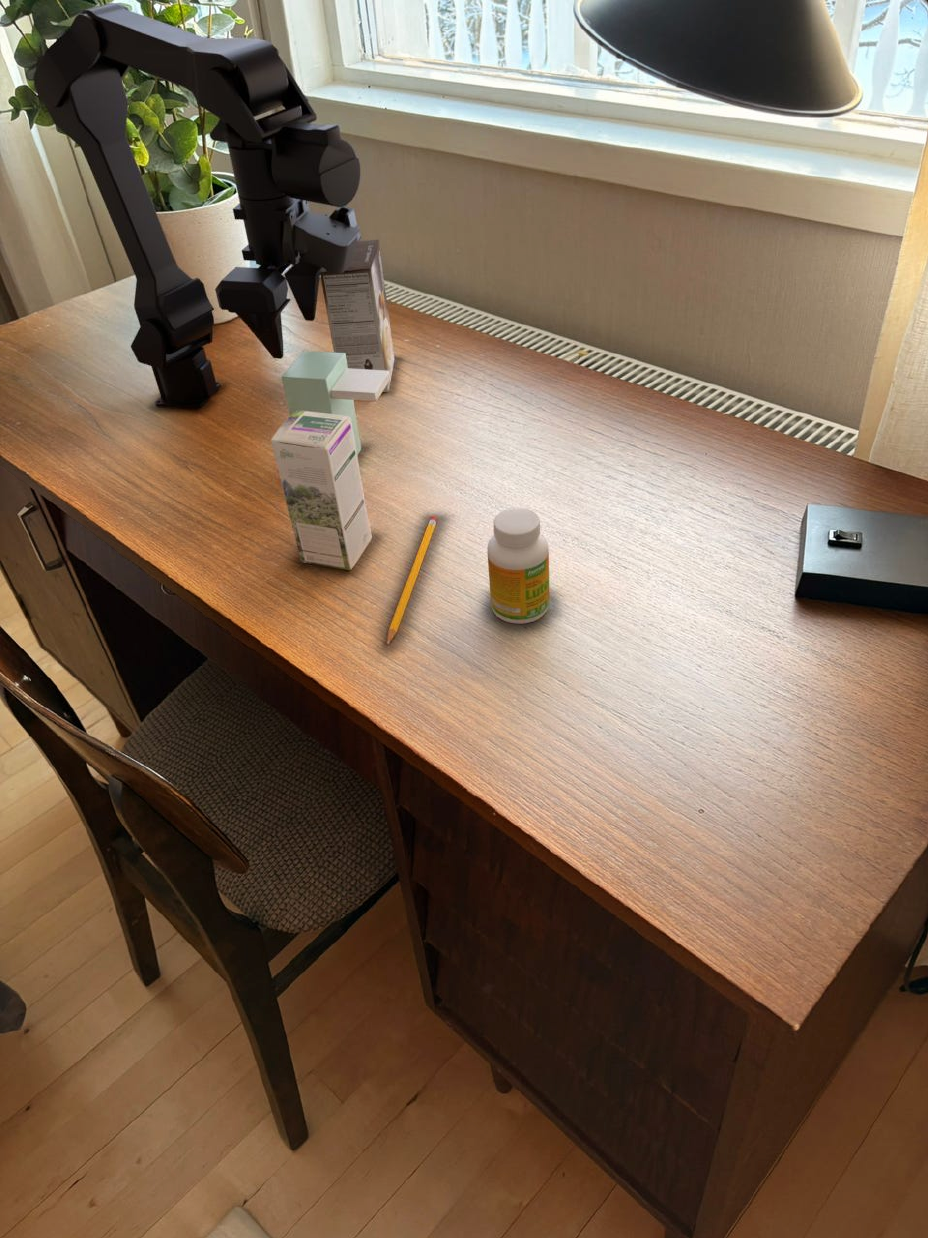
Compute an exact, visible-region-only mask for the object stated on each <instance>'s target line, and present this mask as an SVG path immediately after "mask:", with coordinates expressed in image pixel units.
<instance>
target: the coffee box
mask: <svg viewBox="0 0 928 1238" xmlns="http://www.w3.org/2000/svg"><path fill="white" fill-rule="evenodd" d="M320 282H321V288H322V293H323V299H324V304H325V310H326V316H327V321H328V326H329V332H330V337H331V343H332V349H333V353H346V359H347V365H348V368H351V369H368V370H385V371H390V378H391V379H390V381H389V382H388V384H387V385H386V387H385V388H384V390H383V391H382V393H386V392H389V391H390V387H391V382H392V375H393V370H394V363H395V353H394V344H393V338H392V330H391V323H390V315H389V306H388V300H387V292H386V286H385V285H386V284H385V277H384V269H383V263H382V256H381V247H380V239H370V240H369V239H368V240H359V241H358V242H357V244H356V249H355V253H354V258H353V262H352V263H350V264H349V265H348V266H347V267H346V269H345V271H344V272H343V273H342V274H332V273H329V272H327V271H326V269H324V268H321V272H320Z"/></svg>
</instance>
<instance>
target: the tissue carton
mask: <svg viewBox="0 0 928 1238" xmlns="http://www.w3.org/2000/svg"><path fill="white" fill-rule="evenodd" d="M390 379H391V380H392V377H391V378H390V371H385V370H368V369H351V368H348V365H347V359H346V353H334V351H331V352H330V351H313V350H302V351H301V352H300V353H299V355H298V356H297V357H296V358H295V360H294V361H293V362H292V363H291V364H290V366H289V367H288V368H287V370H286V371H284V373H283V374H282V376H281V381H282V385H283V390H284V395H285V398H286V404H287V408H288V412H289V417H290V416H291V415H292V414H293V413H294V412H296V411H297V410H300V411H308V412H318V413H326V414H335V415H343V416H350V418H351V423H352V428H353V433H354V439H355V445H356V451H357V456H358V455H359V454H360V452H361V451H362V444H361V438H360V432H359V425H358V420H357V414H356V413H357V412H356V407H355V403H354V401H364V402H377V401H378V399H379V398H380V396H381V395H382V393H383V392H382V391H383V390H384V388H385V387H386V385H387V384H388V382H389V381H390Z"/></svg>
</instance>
